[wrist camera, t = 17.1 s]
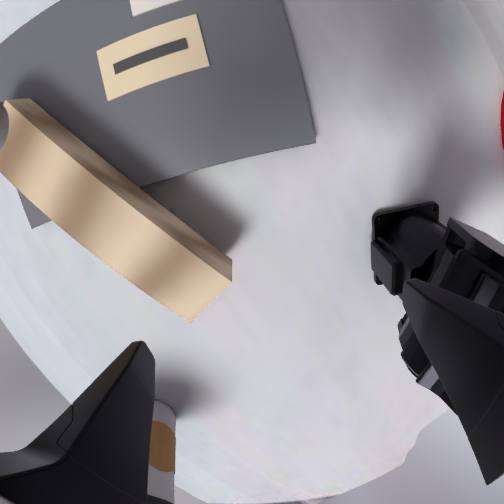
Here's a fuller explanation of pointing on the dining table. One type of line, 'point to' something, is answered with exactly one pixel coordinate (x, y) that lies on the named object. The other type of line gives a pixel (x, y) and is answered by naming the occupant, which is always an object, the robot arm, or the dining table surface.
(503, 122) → the kitchen timer
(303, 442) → the dining table surface
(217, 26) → the label panel
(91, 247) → the swing arm
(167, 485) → the coffee cup
